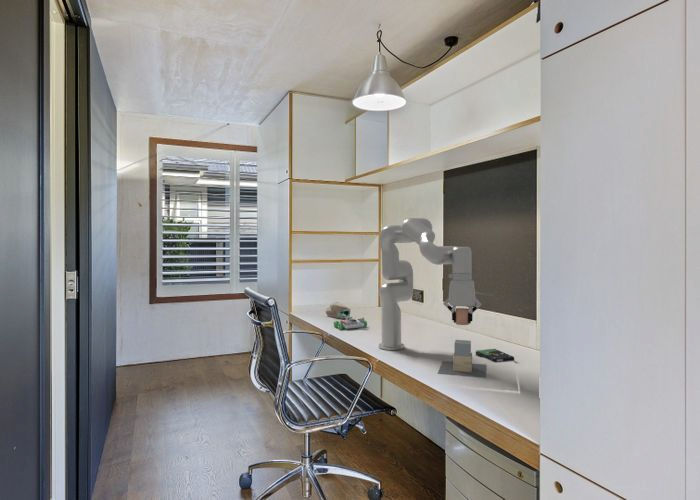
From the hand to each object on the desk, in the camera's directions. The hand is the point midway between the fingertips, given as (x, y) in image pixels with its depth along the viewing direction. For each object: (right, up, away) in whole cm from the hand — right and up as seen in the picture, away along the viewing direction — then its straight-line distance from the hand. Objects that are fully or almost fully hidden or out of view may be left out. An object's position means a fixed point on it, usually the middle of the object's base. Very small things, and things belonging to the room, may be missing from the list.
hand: (462, 322), depth 176 cm
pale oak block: (0, -19, 0) cm, 19 cm away
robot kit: (-47, -18, +92) cm, 105 cm away
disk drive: (+19, -20, +18) cm, 33 cm away
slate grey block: (0, -13, 0) cm, 13 cm away
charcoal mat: (0, -20, 0) cm, 20 cm away
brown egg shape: (0, -1, 0) cm, 1 cm away
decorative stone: (-53, -17, +121) cm, 133 cm away
